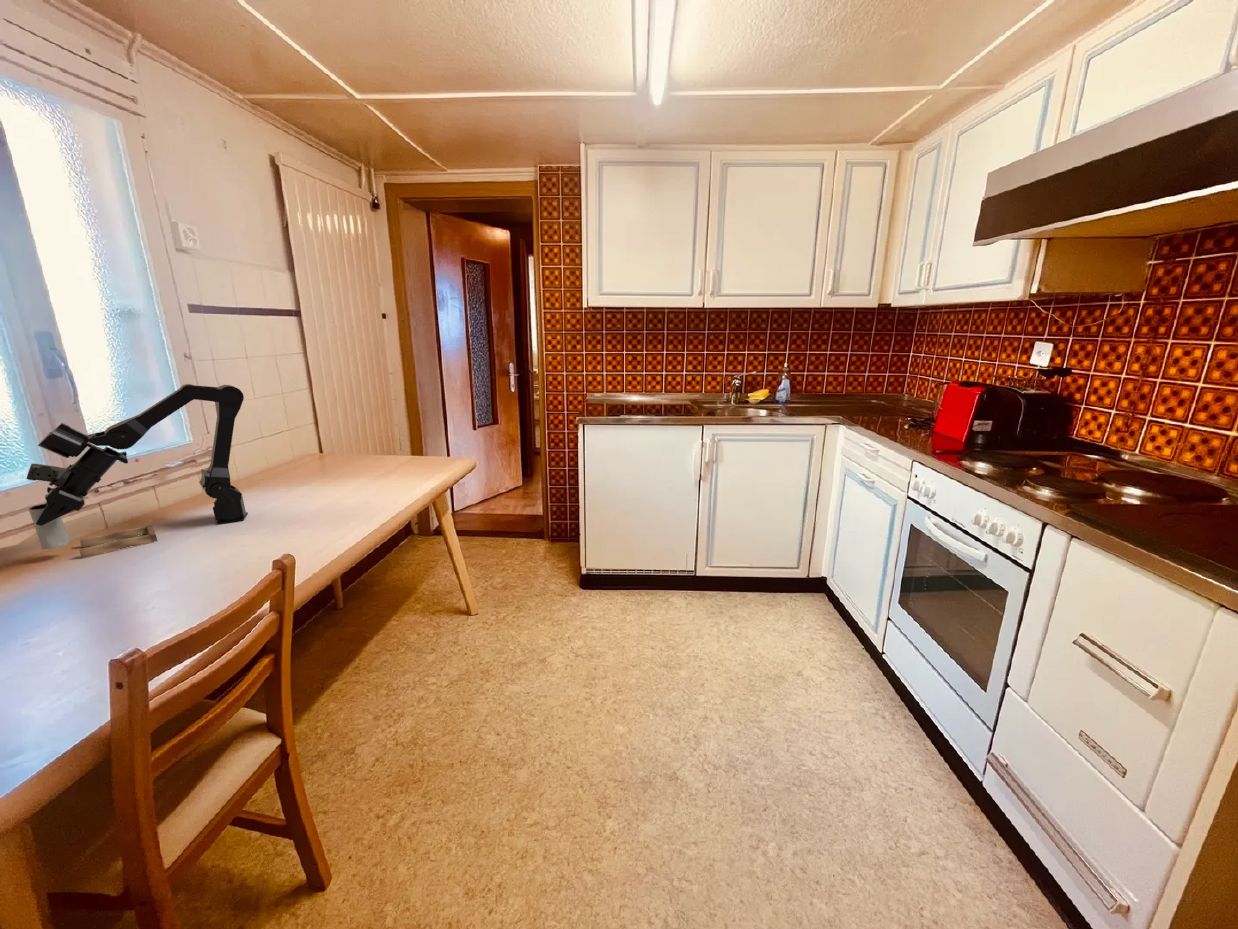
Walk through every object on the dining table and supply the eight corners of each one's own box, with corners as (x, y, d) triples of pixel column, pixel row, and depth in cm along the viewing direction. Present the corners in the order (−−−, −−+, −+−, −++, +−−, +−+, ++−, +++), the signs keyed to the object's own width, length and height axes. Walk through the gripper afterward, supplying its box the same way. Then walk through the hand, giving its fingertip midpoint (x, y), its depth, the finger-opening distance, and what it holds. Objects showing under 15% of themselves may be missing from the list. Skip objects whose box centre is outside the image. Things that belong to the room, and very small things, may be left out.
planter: (51, 550, 120) (37, 510, 118) (37, 548, 121) (23, 508, 118) (74, 542, 125) (61, 503, 122) (61, 541, 126) (47, 502, 123)
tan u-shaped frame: (154, 531, 139) (152, 524, 139) (157, 541, 133) (155, 534, 132) (81, 547, 130) (79, 539, 129) (81, 558, 123) (79, 551, 122)
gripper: (50, 444, 126) (-2, 497, 121) (46, 457, 113) (-13, 516, 108) (104, 468, 133) (56, 518, 129) (105, 482, 121) (53, 538, 116)
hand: (38, 522), depth 120 cm, fingers closed on planter, 5 cm apart
